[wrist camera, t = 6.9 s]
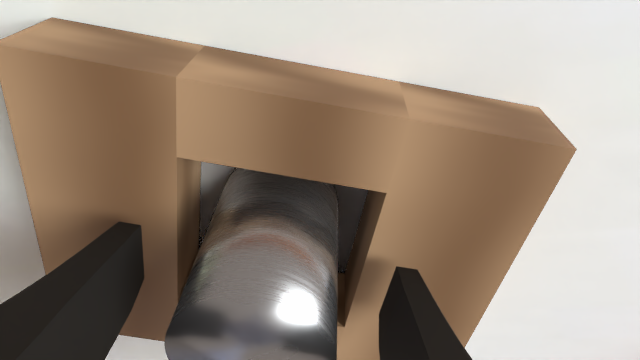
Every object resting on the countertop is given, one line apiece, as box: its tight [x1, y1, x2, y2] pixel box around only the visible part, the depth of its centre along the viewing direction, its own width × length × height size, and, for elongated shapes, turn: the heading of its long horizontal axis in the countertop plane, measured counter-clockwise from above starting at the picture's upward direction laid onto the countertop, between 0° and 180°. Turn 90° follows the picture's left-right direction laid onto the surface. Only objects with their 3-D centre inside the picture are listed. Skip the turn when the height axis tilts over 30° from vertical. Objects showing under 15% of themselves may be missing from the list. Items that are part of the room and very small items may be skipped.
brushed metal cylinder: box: [165, 168, 338, 360], centre depth 13 cm, size 4×4×6 cm
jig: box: [0, 18, 576, 360], centre depth 14 cm, size 14×10×2 cm
